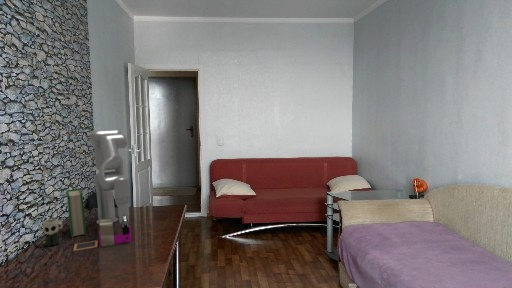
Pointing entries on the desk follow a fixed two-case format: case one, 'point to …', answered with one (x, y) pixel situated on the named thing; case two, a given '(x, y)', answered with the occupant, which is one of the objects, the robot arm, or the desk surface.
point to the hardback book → (76, 212)
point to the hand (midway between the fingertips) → (125, 232)
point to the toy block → (120, 237)
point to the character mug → (51, 231)
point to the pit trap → (85, 245)
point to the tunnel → (106, 232)
